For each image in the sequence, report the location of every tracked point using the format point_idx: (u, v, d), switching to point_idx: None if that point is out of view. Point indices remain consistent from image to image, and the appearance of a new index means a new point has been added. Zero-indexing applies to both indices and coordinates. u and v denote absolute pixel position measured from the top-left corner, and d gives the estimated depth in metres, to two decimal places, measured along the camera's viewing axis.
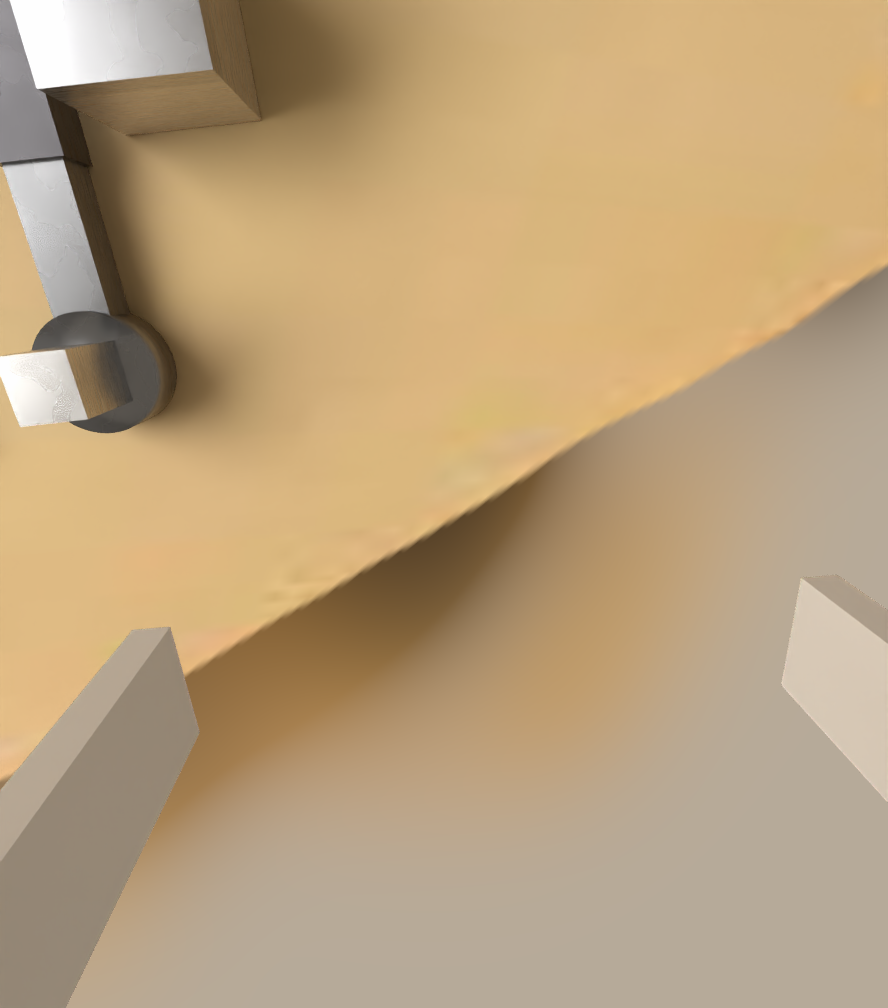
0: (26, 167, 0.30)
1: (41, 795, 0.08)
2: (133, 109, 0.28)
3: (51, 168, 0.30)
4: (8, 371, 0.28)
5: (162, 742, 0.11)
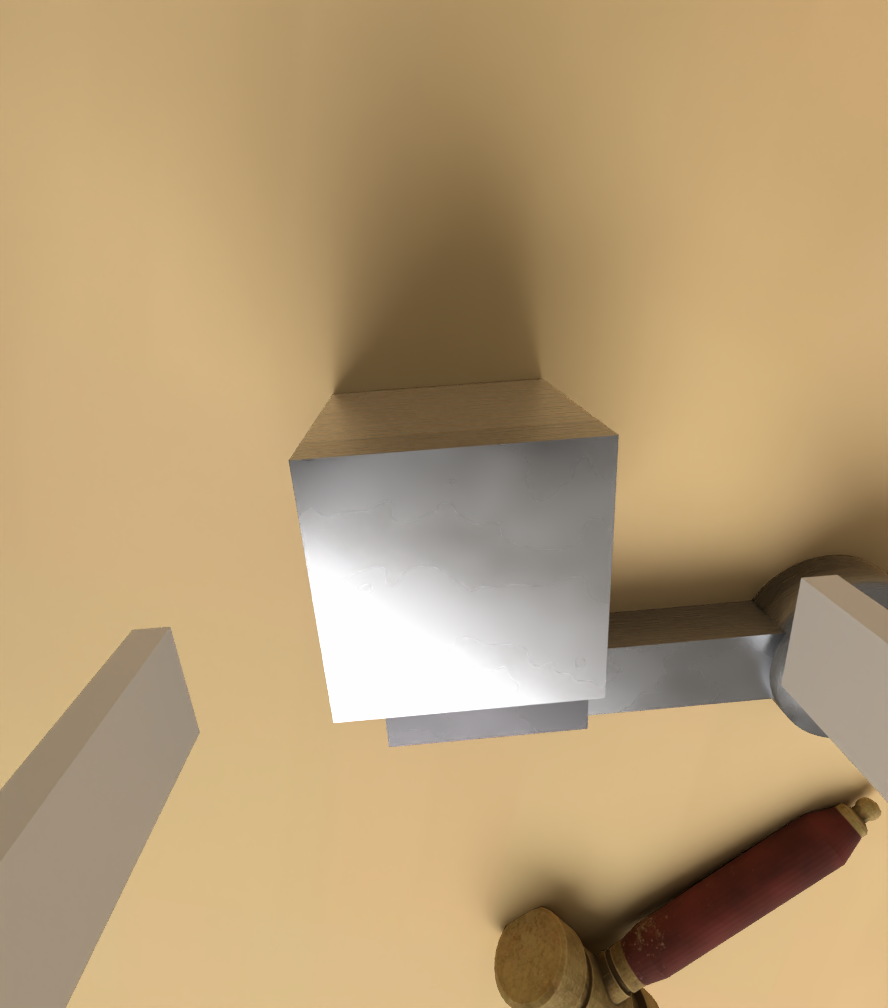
0: None
1: (41, 795, 0.08)
2: None
3: None
4: None
5: (162, 742, 0.11)
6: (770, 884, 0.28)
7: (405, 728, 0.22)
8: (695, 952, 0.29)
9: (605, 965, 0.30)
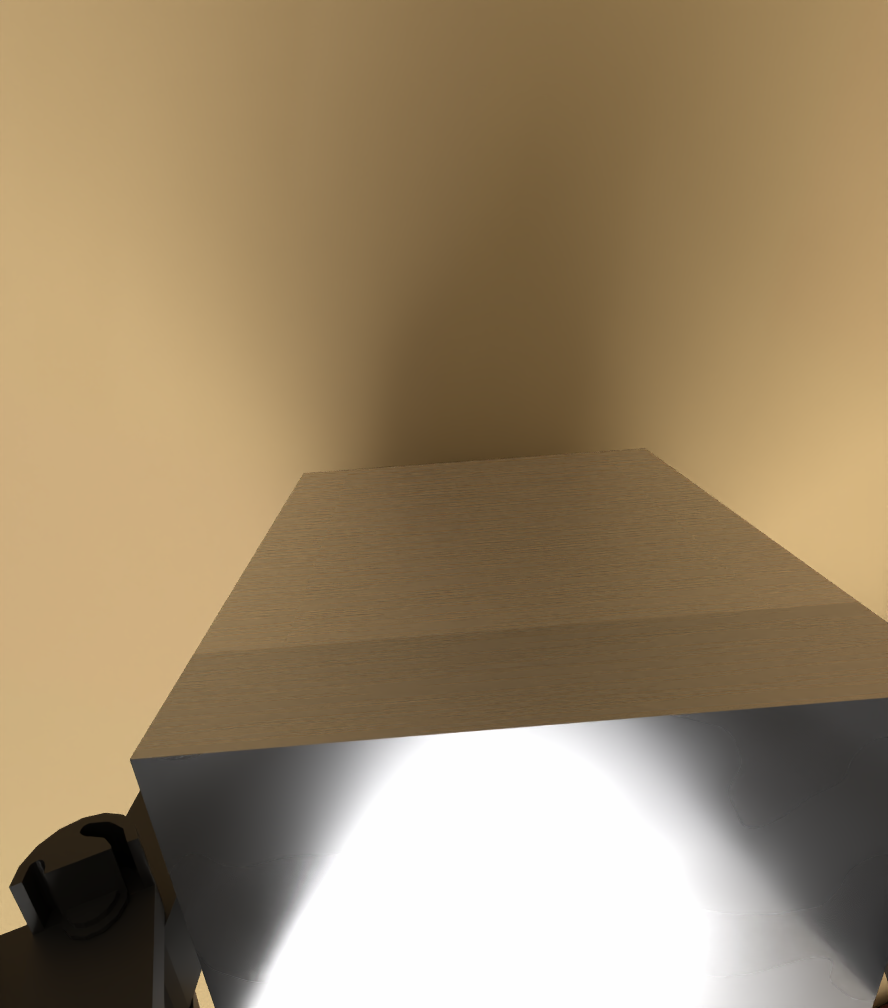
0: None
1: None
2: None
3: None
4: None
5: None
6: None
7: None
8: None
9: None
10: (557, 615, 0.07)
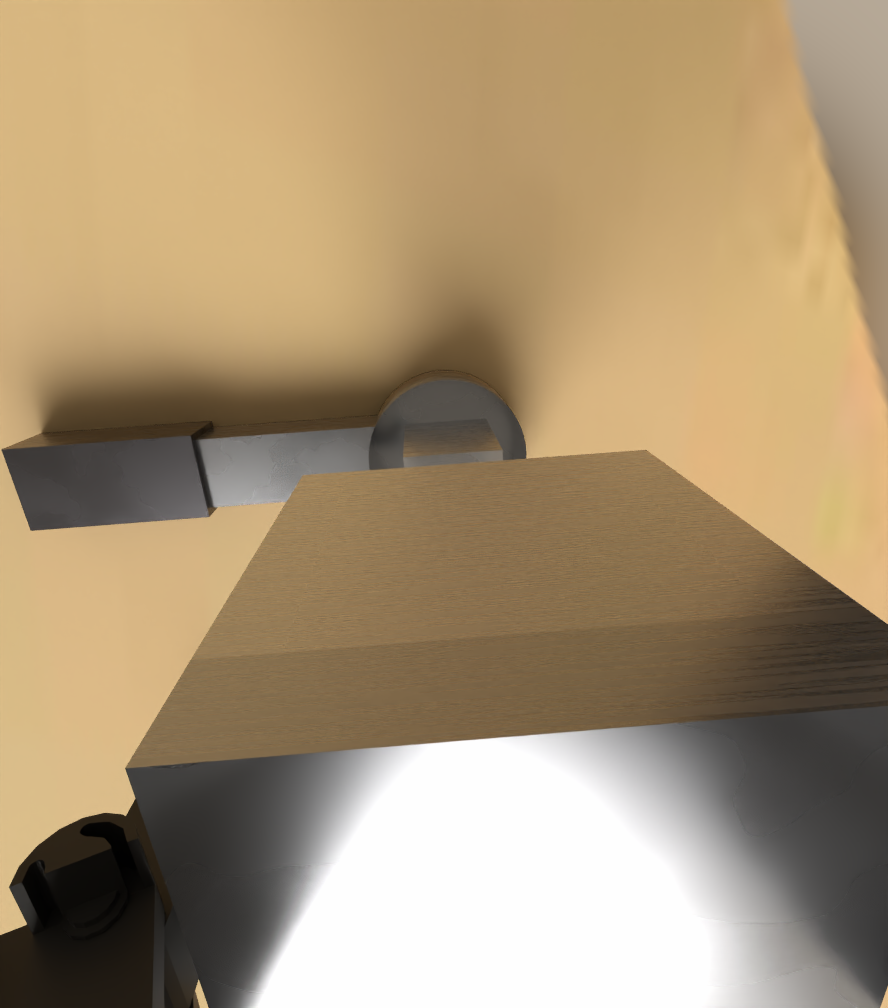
0: (210, 482, 0.26)
1: None
2: None
3: (208, 455, 0.25)
4: None
5: None
6: None
7: (41, 511, 0.25)
8: None
9: None
10: (558, 620, 0.06)
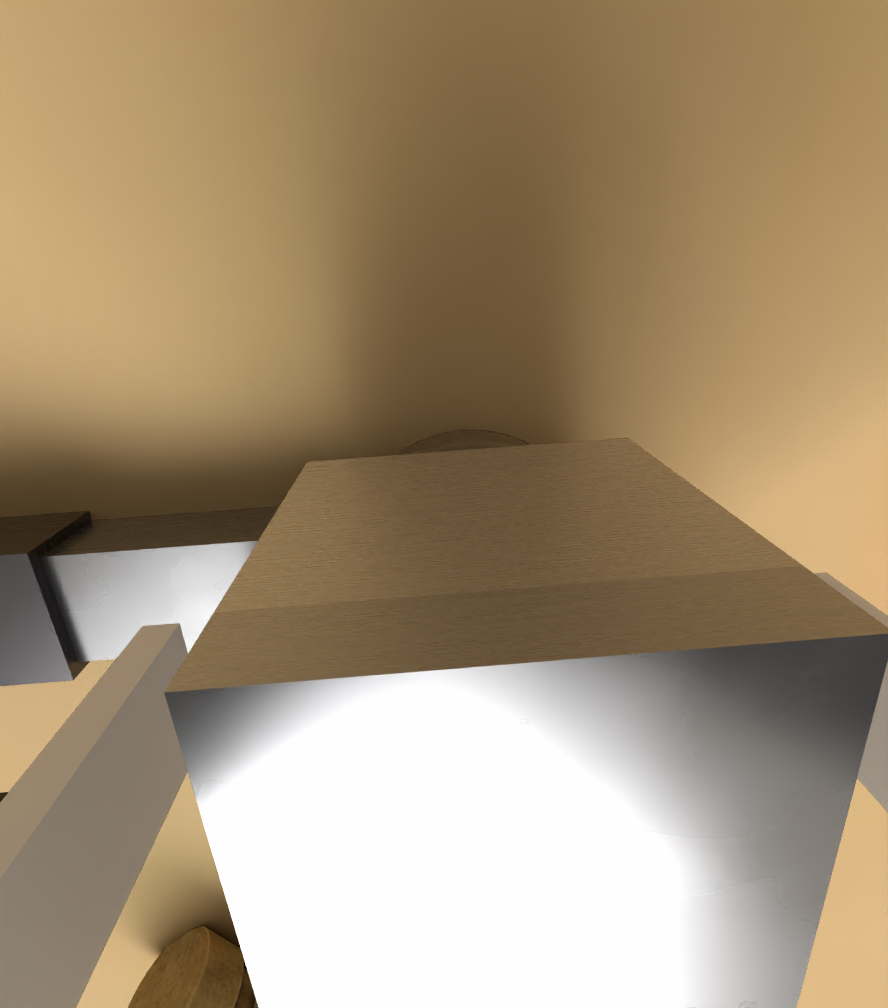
0: (74, 624, 0.15)
1: (57, 787, 0.08)
2: None
3: (66, 582, 0.15)
4: None
5: (172, 737, 0.11)
6: None
7: None
8: None
9: None
10: (536, 578, 0.07)
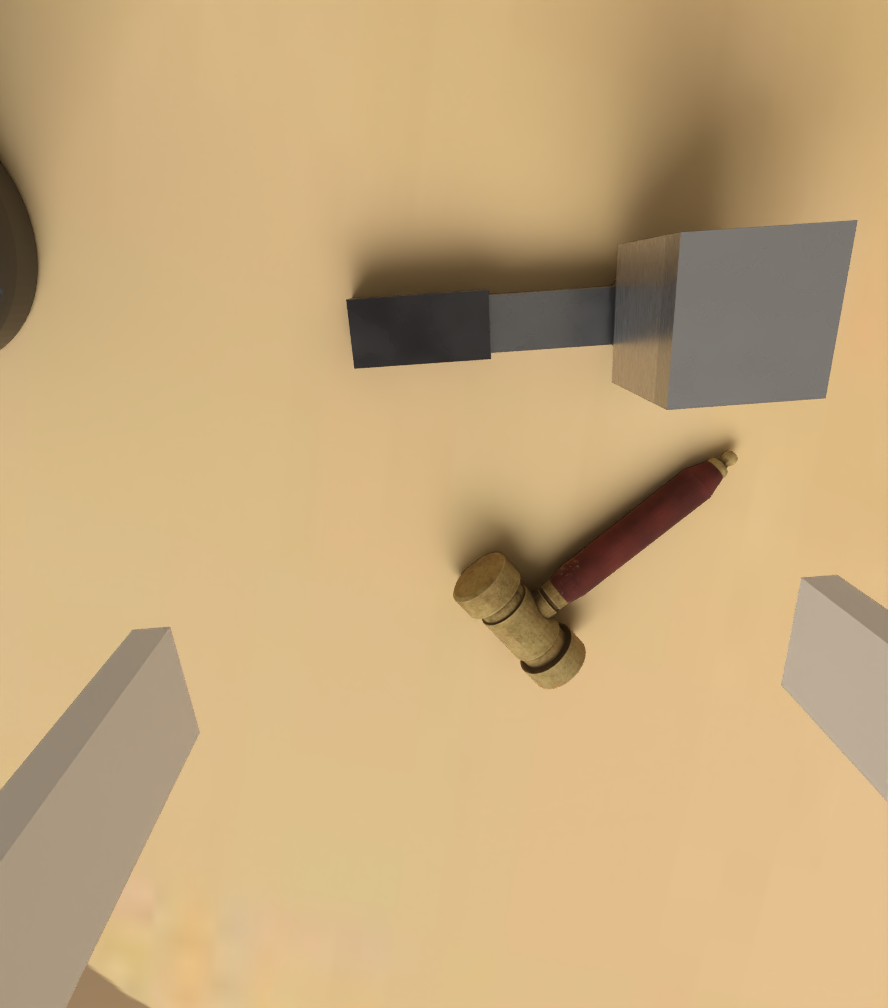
0: (493, 331, 0.33)
1: (41, 795, 0.08)
2: None
3: (495, 308, 0.33)
4: None
5: (162, 742, 0.11)
6: (655, 511, 0.38)
7: (365, 352, 0.33)
8: (601, 567, 0.39)
9: (537, 592, 0.40)
10: None
